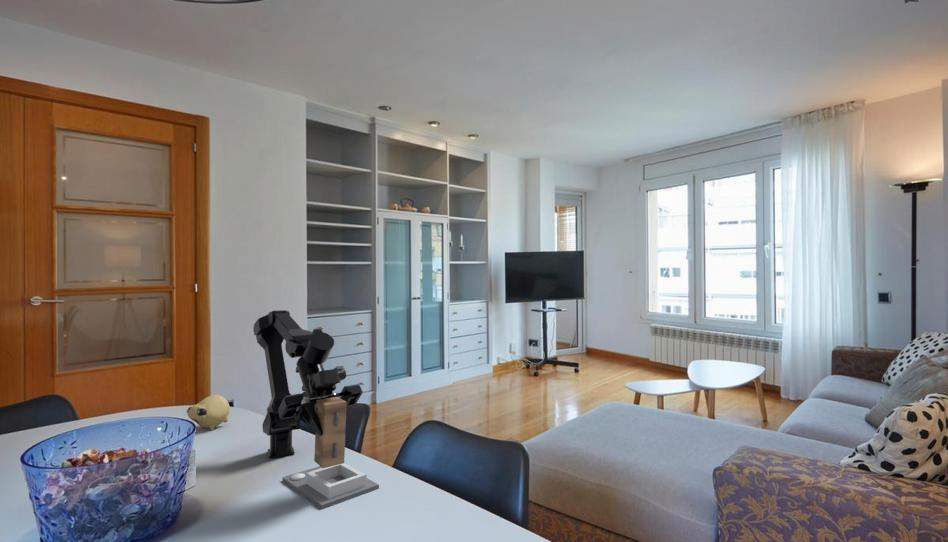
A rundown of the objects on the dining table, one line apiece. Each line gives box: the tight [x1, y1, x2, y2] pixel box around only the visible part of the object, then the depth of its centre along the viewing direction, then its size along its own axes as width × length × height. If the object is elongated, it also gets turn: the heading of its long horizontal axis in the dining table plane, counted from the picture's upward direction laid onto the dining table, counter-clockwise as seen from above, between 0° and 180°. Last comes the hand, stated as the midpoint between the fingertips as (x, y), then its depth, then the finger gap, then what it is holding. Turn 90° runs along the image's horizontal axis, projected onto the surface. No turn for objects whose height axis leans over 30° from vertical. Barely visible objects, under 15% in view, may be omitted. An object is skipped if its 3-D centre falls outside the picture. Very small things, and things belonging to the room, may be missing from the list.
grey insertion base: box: [282, 462, 380, 510], centre depth 109 cm, size 20×14×3 cm
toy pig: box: [186, 394, 231, 431], centre depth 152 cm, size 10×12×11 cm
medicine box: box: [184, 448, 197, 492], centre depth 108 cm, size 8×4×9 cm, turn 74°
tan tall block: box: [313, 397, 348, 468], centre depth 106 cm, size 6×5×14 cm
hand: (333, 432), depth 105 cm, fingers closed on tan tall block, 5 cm apart
